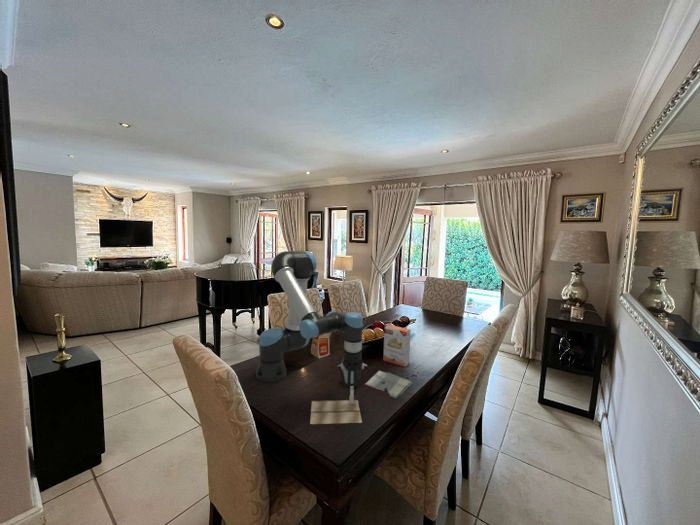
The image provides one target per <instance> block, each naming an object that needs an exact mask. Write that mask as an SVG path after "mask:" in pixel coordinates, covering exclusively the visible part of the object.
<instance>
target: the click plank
mask: <svg viewBox="0 0 700 525" xmlns="http://www.w3.org/2000/svg"><path fill="white" fill-rule="evenodd" d="M326 411H360V405H359V400H358V399H354V401H353V404H350V401H349V399H343V400H342V399H341V400H340V399H338V400H337V399H335V400H311V407H310V413H311V412H326Z"/></svg>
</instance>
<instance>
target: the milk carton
mask: <svg viewBox="0 0 700 525" xmlns="http://www.w3.org/2000/svg"><path fill="white" fill-rule="evenodd" d="M310 354H311V355H313V356H314V357H315V358H318V359H321V358H324V357H327V356H329V355H330V337H329V333H327V334H323V335H320V336H316V337H313V338H312V342H311V348H310Z"/></svg>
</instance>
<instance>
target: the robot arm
mask: <svg viewBox="0 0 700 525" xmlns="http://www.w3.org/2000/svg"><path fill="white" fill-rule="evenodd" d="M270 266H271V275H272V277H273V278H274V280H275V281H276V282H277V283H279V285H280V286H281V288H282V290H283V292H284V294H285V295H286V297H287V299H288V302H289V303H288V314H287V321H286V322H285V324H284V329H282V328H280V327H275V328H274V327H272V328H268V329H266V330H264V331H262V332H261V334H260V335H259V342H258V344H259V345H258V346H259V363H258V365H257V367H256V371H255V377H256V378H255V379H256V380H258V381H259V382H262V383H274V382H278V381H281V380H282V379H284V378H286V376H287V367H286V365H285V362H284V353H288V352H292V351H295V350H300V349H302V348H305V347H306V346H308V344H309V342H310V339H313V337H316V336H320V335H323V334H327V333H328V334H330V333H334V332H340V333H342V334H344V338H343V339H344V343H343V348H344V350H343V359H344V360H343V359H342V362H343V363H342V362H341V363H338V364H337V370H338V371H339V374H340V378H341V382H342V386H343V388H344V389H346V391H347V392H346V394H347V396H348V397H349V399H348V400H349V401H350V404H353V401H354V400H355V398H354V397H355V396H356V395H357V390H358V388H361V387H362V383H363V381H364V377H365V373H366V371H367V369H368V364H366V363H364V362H363V360H362V355H363V354H362V352H363V351H362V349H363V326H364V323H363V322H364V320H363V318H364V317H363V314H361V313H360V312H354V311H352V312H351V311H350V312H347V313H345V314H343V313H340V312H339V311H332V310H331V311H329V312H327V314H326V315H322V316H319V313H318V312H317V311H316V309H315V308H314V305H313V304H312V303H311V301H310V299H309V298H308V295H307V292H308V282H309V280H310V279H311V278H312V274H313V273H315V272H316V270H317V266H318V265H317V259H316V257H315V255H314V254H313V252H311V251H308V250H307V251H306V250H294V251H293V250H291V251H290V250H289V251H287V250H285V251H282V252H280V253H277V254H276V255H275V256H274V258H273V260H272V261H271V265H270ZM343 366H344V367H345V368H346V370H347V371H348V375H347V384H346V382H345V377H344V373H343ZM360 368H361V369H360ZM359 369H360V372H359V376H358V371H359ZM357 370H358V371H357ZM351 371H354V374H353V384H351ZM351 385H352V386H351Z"/></svg>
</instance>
